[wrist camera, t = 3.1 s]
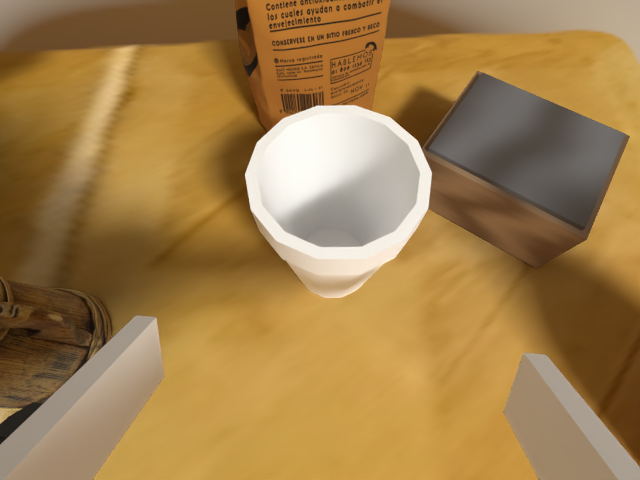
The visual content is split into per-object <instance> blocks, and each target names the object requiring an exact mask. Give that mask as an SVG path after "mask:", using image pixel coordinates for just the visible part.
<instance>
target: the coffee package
mask: <svg viewBox="0 0 640 480" xmlns="http://www.w3.org/2000/svg"><path fill="white" fill-rule="evenodd" d="M390 1H391V0H236V20H237V28H238V37H239V45H240V51H241V56H242V61H243V64H244V68H245V72H246V75H247V78H248V82H249V85H250V88H251V90H252V93H253V97H254V100H255V103H256V106H257V109H258V115H259V120H260V122H261V124H262V125H263V126H264V127H265V129H266V130H267V131H268V132H269V131H270V130H271V129H272V128H273V127H274V126H275V125H276V124H277V123H279V122H280V121H281V120H282V119H283V118H286V117H288V116H291V115H294V114H296V113H299V112H302V111H304V110H307V109H310V108H312V107H315V106H336V105H355V106H358V107H361V108H364V109H367V110H370V111H371V109H372V104H373V99H374V93H375V87H376V82H377V77H378V72H379V68H380V61H381V57H382V50H383V44H384V37H385V33H386V25H387V15H388V10H389V5H390Z"/></svg>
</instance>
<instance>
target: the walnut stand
mask: <svg viewBox="0 0 640 480" xmlns="http://www.w3.org/2000/svg"><path fill="white" fill-rule="evenodd" d="M629 137H630V136H628V135H626V134H625V133H622V132H620V131H618V130H615V129H613V128H611V127H608V126H606V125H604V124H601V123H599V122H597V121H594V120H592V119H590V118H587V117H585V116H583V115H580V114H578V113H576V112H573V111H571V110H569V109H566V108H564V107H562V106H559V105H557V104H555V103H552V102H550V101H548V100H545V99H543V98H541V97H538V96H536V95H534V94H531V93H529V92H527V91H524V90H522V89H520V88H517V87H515V86H513V85H510V84H508V83H506V82H503V81H501V80H499V79H496V78H494V77H492V76H489V75H487V74H485V73H481V72H479V71H477V72H476V74H475V75H474V77H473V78H472V79H471V81H470V82H469V84H468V85H467V86H466V88H465V89H464V90H463V92H462V93H461V95H460V96H459V97H458V99H457V100H456V101H455V103H454V104H453V106H452V107H451V108H450V110H449V111H448V112H447V114H446V115H445V117H444V118H443V119H442V121H441V122H440V124H439V125H438V126H437V128H436V129H435V130H434V132H433V133H432V135H431V136H430V137H429V139H428V140H427V141H426V143H425V144H424V146H423V147H422V148H421V149H422V152H423V154H424V156H425V158H426V161H427V163H428V165H429V167H430V169H431V172H432V178H431V187H430V197H429V207H428V209H430V210H432V211H434V212H436V213H437V214H439V215H441V216H443V217H445V218H446V219H448V220H450V221H452V222H453V223H455V224H457V225H459V226H461V227H462V228H464V229H466V230H468V231H470V232H471V233H473V234H475V235H477V236H479V237H480V238H482V239H484V240H486V241H487V242H489V243H491V244H493V245H495V246H496V247H498V248H500V249H502V250H504V251H505V252H507V253H509V254H511V255H513V256H514V257H516V258H518V259H520V260H522V261H523V262H525V263H527V264H529V265H530V266H532V267H534V268H537V267H539V266H541V265H543V264H544V263H546V262H548V261H550V260H551V259H553V258H555V257H557V256H558V255H560V254H562V253H564V252H565V251H567V250H569V249H571V248H573V247H574V246H576V245H578V244H580V243H581V242H583V241H585V240H587V237H588V235H589V233H590V230H591V228H592V225H593V223H594V221H595V218H596V216H597V213H598V211H599V209H600V206H601V204H602V201H603V199H604V197H605V194H606V192H607V190H608V187H609V185H610V182H611V180H612V178H613V175H614V173H615V170H616V168H617V166H618V163H619V161H620V158H621V156H622V154H623V151H624V149H625V147H626V144H627V142H628V139H629Z"/></svg>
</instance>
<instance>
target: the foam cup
mask: <svg viewBox="0 0 640 480" xmlns="http://www.w3.org/2000/svg"><path fill="white" fill-rule="evenodd" d="M431 178H432V172H431V169H430V167H429V165H428V163H427V161H426V158H425V156H424V154H423V152H422V149H421V147H420V145H419V143H418V141H417V140H416V139H415V138H414V137H413V136H411V135H410V134H409V133H408V132H407V131H406V130H404V129H403V128H402V127H401V126H400V125H398V124H397V123H396V122H395V121H394V120H393V119H391V118H390V117H388V116H385V115H382V114H379V113H376V112H373V111H370V110H367V109H364V108H361V107H358V106H355V105H336V106H315V107H312V108H310V109H307V110H304V111H302V112H299V113H296V114H294V115H291V116H288V117H286V118H283V119H282V120H281V121H280V122H279V123H277V124H276V125H275V126H274V127H273V128H272V129H271V130H270V131H269V132H268V133H267V134H266V135H264V136H263V137H262V138H261V139H260V140H259V141H258V142H257V144H256V146H255V149H254V152H253V154H252V157H251V160H250V162H249V165H248V168H247V170H246V173H245V179H246V184H247V190H248V196H249V202H250V208H251V212H252V214H253V217H254V219H255V221H256V224H257V226H258V229H259V231H260V232H261V234H262V235H263V236H264V237H265V239H266V240H267V241H268V242H269V243H270V245H271V246H272V247H273V248H274V250H275V251H276V252H277V253H278V255H279V256H280V257H281V258H282V259H283V260H285V261H286V262H287V263H288V265H289V266H290V267H291V269H292V270H293V271H294V273H295V274H296V275H297V277H298V278H299V279H300V280H301V282H302V283H303V284H304V285H305V287H306V288H307V289H308V290H309V291H311V292H313V293H315V294H317V295H319V296H321V297H324V298H342V297H344V296H346V295H348V294H350V293H352V292H354V291H356V290H357V289H359V288H360V287H361V286H362V285H363V284H364V283H365V282H366V281H367V280H368V279H369V278H370V277H371V276H372V275H373V274H374V273H375V272H376V271H377V270H378V269H379V268H380V267H381V266H382V265H383V264H384V263H386V262H388V261H390V260H392V259H394V258H395V257H396V256H397V254H398V253H399V252H400V250H401V249H402V248H403V246H404V245H405V244H406V242H407V241H408V240H409V238H410V237H411V236H412V234H413V233H414V232H415V230H416V229H417V227H418V225H419V224H420V222H421V220H422V218H423V217H424V215H425V213H426V212H427V210H428V207H429V197H430V187H431Z"/></svg>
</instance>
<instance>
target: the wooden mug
mask: <svg viewBox="0 0 640 480" xmlns="http://www.w3.org/2000/svg"><path fill="white" fill-rule="evenodd" d="M111 334H112V333H111V325H110V319H109V317H108V314H107V312H106V309H105V307H104V306H103V305H102V303H101V302H100V301H99V300H98V298H96V297H94V296H91V295H89V294H86V293H84V292H81V291H77V290H73V289H65V288H52V289H48V288H43V287H38V286H32V285H27V284H22V283H16V282H11V281H7V280H6V279H5V278H4V277H3V276H2V275H0V409H4V410H9V411H16V412H18V411H19V410H21V409H22V408H24V407H26V406H27V405H29V404H31V403H32V402H35V403H45V402H46V401H47V400H48V399H49V398H50V397H51V396H52V395H53V394H54V393H55V392H56V391H57V390H58V389H59V388H60V387H61V386H62V385H63V384H65V383H66V382H67V381H68V380H69V379H70V378H71V377H72V376H73V375H74V374H75V373H76V372H77V371H78V370H79V369H80V368H81V367H82V366H83V365H84V364H86V363H87V362H88V361H89V360H90V359H91V358H92V357H93V356H94V355H95V354H96V353H97V352H98V351H99V350H100V349H101V348H102V347H103V346H104V345H105V344H107V343H108V342H109V341H110V340H111Z"/></svg>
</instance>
